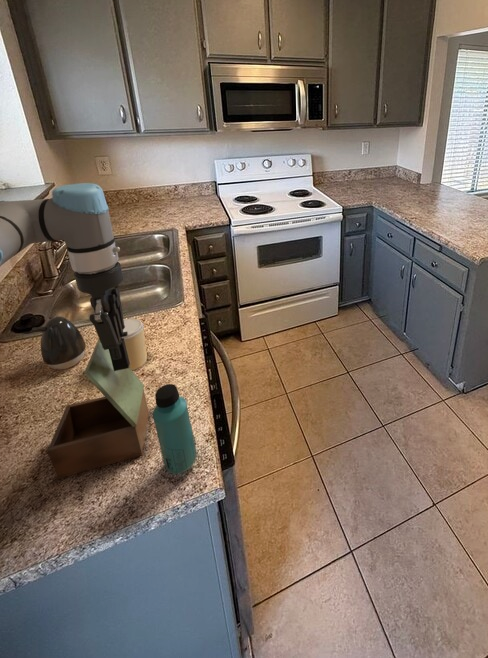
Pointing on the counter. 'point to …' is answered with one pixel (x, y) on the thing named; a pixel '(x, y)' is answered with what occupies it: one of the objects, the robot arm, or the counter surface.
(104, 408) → the brown wooden box
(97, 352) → the lid
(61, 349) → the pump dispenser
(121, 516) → the counter surface
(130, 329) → the coffee cup
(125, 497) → the counter surface
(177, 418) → the beverage bottle
